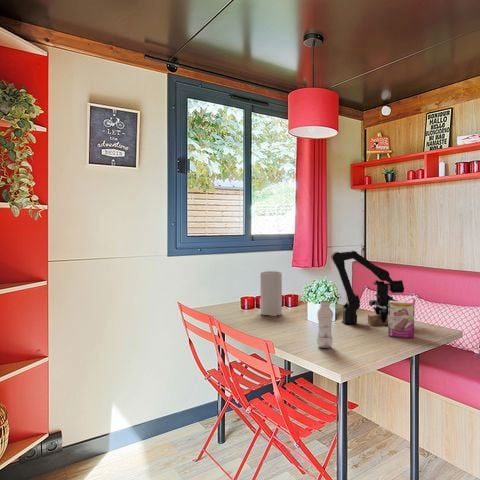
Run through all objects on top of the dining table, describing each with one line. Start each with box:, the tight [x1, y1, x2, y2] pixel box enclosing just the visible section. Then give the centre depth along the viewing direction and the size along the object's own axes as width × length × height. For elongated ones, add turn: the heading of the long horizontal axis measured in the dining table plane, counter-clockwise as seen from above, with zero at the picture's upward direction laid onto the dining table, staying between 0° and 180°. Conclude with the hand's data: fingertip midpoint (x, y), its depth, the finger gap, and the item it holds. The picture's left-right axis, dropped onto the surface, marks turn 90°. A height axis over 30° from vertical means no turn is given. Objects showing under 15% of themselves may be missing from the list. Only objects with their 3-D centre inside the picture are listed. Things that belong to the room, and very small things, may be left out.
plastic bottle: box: [316, 300, 334, 349], centre depth 161 cm, size 6×7×20 cm
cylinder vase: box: [260, 270, 283, 317], centre depth 222 cm, size 12×12×25 cm
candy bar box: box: [387, 300, 415, 339], centre depth 176 cm, size 11×5×16 cm, turn 71°
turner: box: [367, 313, 388, 326], centre depth 199 cm, size 17×6×5 cm, turn 97°
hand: (382, 322), depth 199 cm, fingers open, 3 cm apart
